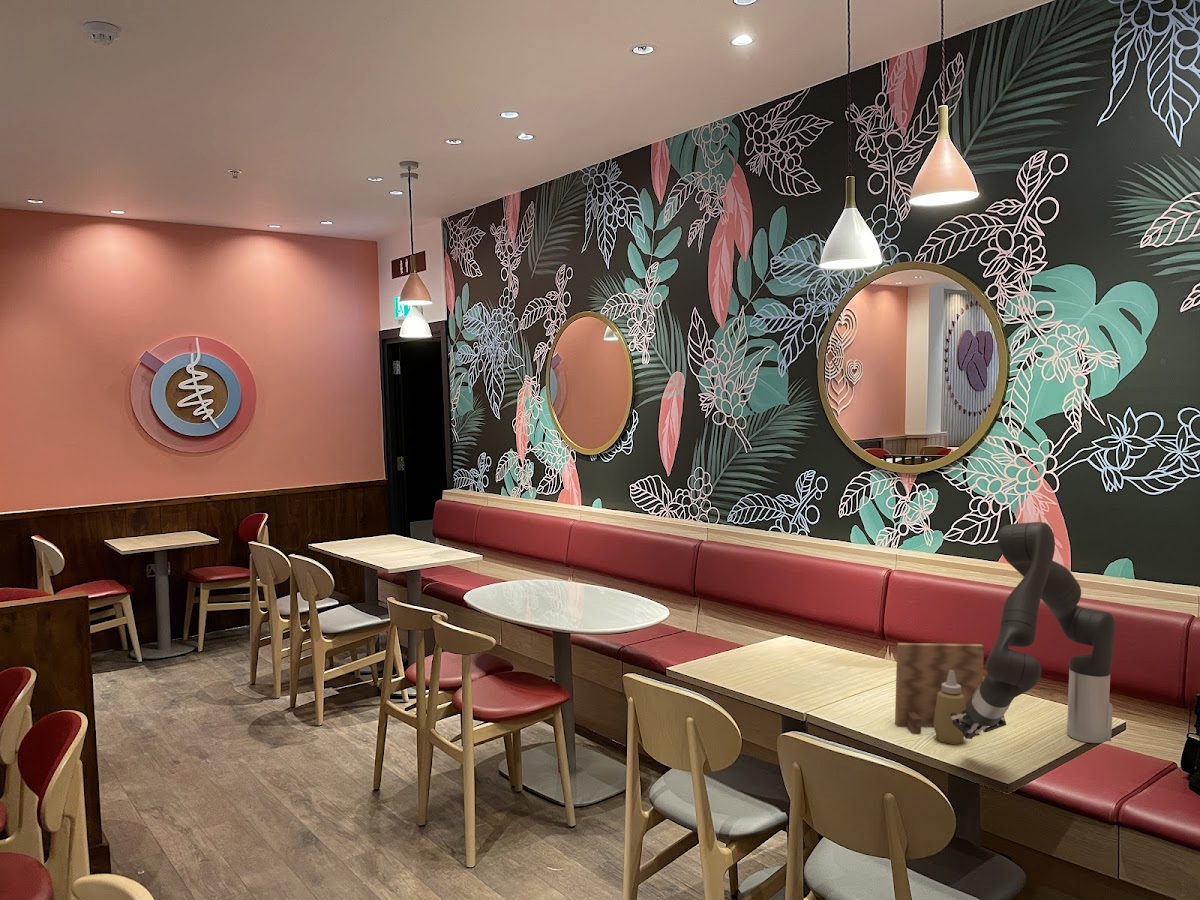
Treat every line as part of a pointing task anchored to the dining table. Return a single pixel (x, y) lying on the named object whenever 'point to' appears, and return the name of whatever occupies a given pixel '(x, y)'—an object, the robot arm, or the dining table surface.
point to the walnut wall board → (932, 678)
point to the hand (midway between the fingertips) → (967, 735)
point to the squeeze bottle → (948, 710)
